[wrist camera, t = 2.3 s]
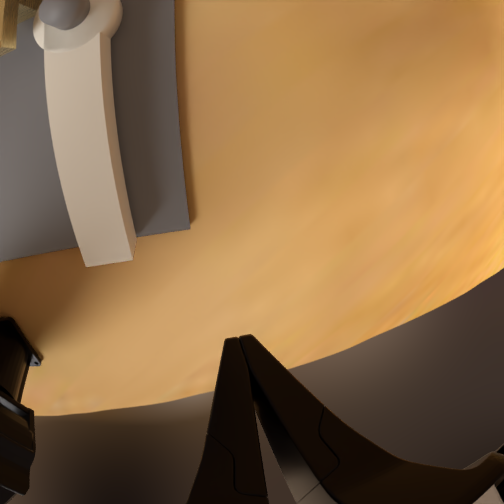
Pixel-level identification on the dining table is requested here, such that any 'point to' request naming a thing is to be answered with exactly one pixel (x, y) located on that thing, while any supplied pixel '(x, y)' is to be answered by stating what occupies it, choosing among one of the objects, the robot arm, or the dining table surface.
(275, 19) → the dining table surface
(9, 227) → the board
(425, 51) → the dining table surface
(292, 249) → the dining table surface
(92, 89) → the link
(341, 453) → the robot arm
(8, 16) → the block
